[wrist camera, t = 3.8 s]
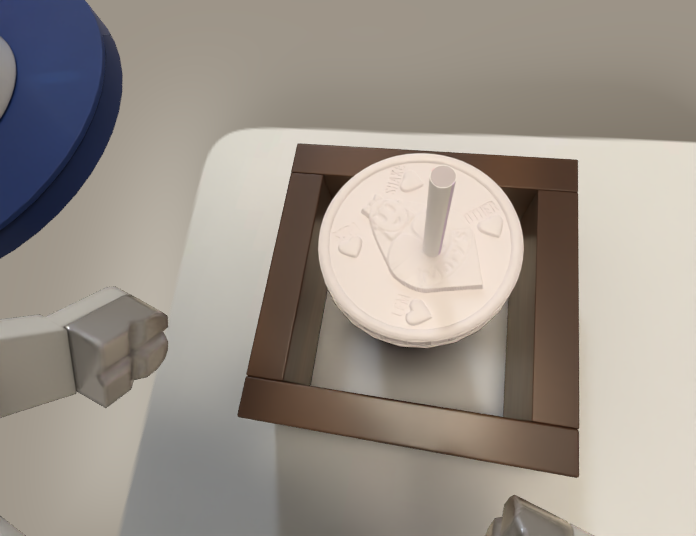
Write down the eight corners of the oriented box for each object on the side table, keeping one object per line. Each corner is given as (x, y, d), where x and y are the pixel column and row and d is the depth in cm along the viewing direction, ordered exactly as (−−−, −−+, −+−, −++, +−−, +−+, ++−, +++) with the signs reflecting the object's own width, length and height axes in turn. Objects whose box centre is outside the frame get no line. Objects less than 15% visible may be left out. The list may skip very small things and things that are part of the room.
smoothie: (422, 400, 21) (449, 382, 8) (327, 316, 23) (217, 186, 10) (502, 302, 22) (649, 135, 9) (405, 230, 24) (401, 3, 11)
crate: (273, 415, 21) (236, 416, 17) (317, 193, 25) (297, 142, 20) (537, 462, 19) (579, 478, 15) (543, 210, 23) (578, 159, 18)
